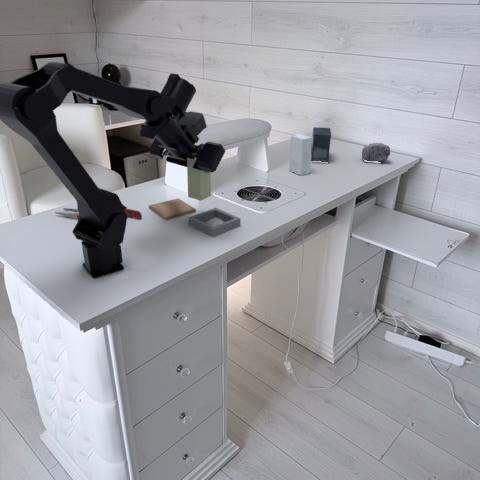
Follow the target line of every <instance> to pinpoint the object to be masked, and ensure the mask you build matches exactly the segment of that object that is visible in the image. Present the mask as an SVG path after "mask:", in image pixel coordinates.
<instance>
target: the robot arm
mask: <svg viewBox="0 0 480 480" xmlns="http://www.w3.org/2000/svg"><path fill="white" fill-rule="evenodd" d="M196 92H197V90H196V87H195V86H194V84H192V83H191V82H190V81H188V80H186V79H184V78H182V77H181V76H180V75H179V74H178V73H170V74H169V75H168V77H167V80H166V82H165V84H164V86H163V88H162V89H161V92H159V91H158V90H155V89H147V88H141V87H136V86H135V87H133V86H129V85H123V84H120V83H117V82H114V81H112V80H110V79H106V78H103V77H102V76H99V75H96V74H93V73H91V72H87V71H85V70H82V69H79V68H77V67H75V66H74V65H72V64H70V63H65V62H58V61H49V62H47V63H46V64H44V65H43V66H41V67H40V68H39V69H37V70H33V71H32V72H29V73H26V74H24V75H21V76H19V77H18V78H16V79H14V80H12V81H11V82H3V83H0V121H1V122H2V123H3V124H4V125H5V126H7V127H8V128H9V130H12V131H13V132H14V133H16V134H17V135H19V137H22V138H23V139H24V140H26V141H27V142H29V143H30V144H31V146H32V147H33V148H34V149H35V150H36V151H37V153H38V154H39V156H40V157H41V159H43V161H45V163H46V164H47V165H48V167H49V168H50V169H51V171H53V173H54V174H55V175H56V177H57V178H58V180H60V182H61V183H62V184H63V186H64V187H65V189H67V191H68V192H69V193H70V194H71V196H72V197H73V198H74V199H75V202H76V205H77V209H78V212H79V214H80V216H81V217H80V219H79V221H78V220H77V222H76V224H75V225H74V228H72V229H73V230H72V234H73V235H74V237H75V239H76V240H78V241H79V240H80V241H81V249H82V254H83V255H82V256H83V260H84V261H83V262H82V265H81V266H82V267H83V268H84V270H85V271H86V272H87V273H88V275H89V276H90V277H91V278H92V279H99V278H101V277H105V276H108V275H112V274H115V273H118V272H120V271H123V270H125V266H124V265H123V264H122V263H123V253H122V252H123V251H122V246H121V244H123V242H124V237H125V232H126V227H127V220H128V219H129V217H128V216H127V213H126V211H125V210H124V209H128V207H127V206H125V205H124V204H123V203H122V201H121V198H120V197H119V196H118V194H117V193H115V192H112V191H109V190H106V189H103V188H100V187H98V185H97V184H96V182H95V181H94V179H93V178H92V176H91V175H90V174H89V173H88V172H87V170H86V169H85V167H84V165H83V164H82V163H81V162H80V160H79V159H78V158H77V156H76V155H75V153H74V152H73V150H72V149H71V148H70V146H69V145H68V143H67V142H66V141H65V140H64V139H65V138H63V137H62V135H61V133H60V132H59V130H58V123H57V122H58V121H57V116H56V113H55V111H54V110H56V109H57V108H58V107H60V106H61V105H62V104H63V103H64V100H65V99H66V98H67V97H66V96H67V95H68V94H69V93H72V94H73V93H74V94H77V95H79V96H80V95H81V96H83V97H87V98H88V99H89V98H91V99H93V100H96V101H100V102H101V103H102V102H103V103H105V104H108V105H111V106H113V107H114V108H116V109H117V111H119V112H121V113H123V114H124V115H126V116H128V117H131V118H135V119H139V120H140V119H141V120H145V121H144V122H143V123H142V124H140V130H139V136H140V137H141V138H145V139H149V140H152V143H151V145H150V147H149V154H150V155H151V156H152V157H153V158H155V159H159V160H163V159H164V156H165V161H166V162H167V163H171V164H174V165H176V166H177V165H178V166H181V167H184V168H187V158H188V159H192V160H194V159H196V160H195V163H194V165H193V167H192V168H194V169H197V170H200V171H203V172H206V173H210V172H211V174H212V173H214V172H217V169H218V167H219V166H220V163H221V161H222V159H223V157H224V155H225V153H226V149H225V147H224V146H223V145H222V144H221V143H217V142H213V141H207V142H205V143H200V144H198V142H199V140H200V137H199V135H200V134H201V133H202V132H203V131H204V130H206V128H208V127H207V123H206V119H205V116H204V114H203V113H202V112H196V111H187V109H188V107H189V106H190V105H191V104H190V103H191V102H192V100H193V98H194V96H195V94H196ZM197 144H198V145H197Z"/></svg>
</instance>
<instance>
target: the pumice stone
mask: <svg viewBox="0 0 480 480" xmlns="http://www.w3.org/2000/svg"><path fill="white" fill-rule="evenodd" d="M390 155H391V148H390V146H389V145H387V144H385V143H382V142H373V143H372V142H370V143H369V144H368V145H364V146H363V148H362V150H361V159H362V160H363V159H364V160H367V161H378V162H382V163H383V162H384V161H386V160H388V158H389V156H390Z"/></svg>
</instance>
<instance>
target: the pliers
mask: <svg viewBox="0 0 480 480" xmlns="http://www.w3.org/2000/svg"><path fill="white" fill-rule="evenodd" d="M62 209H63V210H62V211H54V213H55V214H57V215H59V216H63V217H66V218H69V219H74V220H77V222H78V221H79V219H80V217H81V216H80V214H79V212H78V208H69V207H67V208H66V207H63V208H62ZM124 210H125V211H126V213H127V216H128V219H130V218H131V219H135V220H141V219H142V216H143V215H142V213H141V211H139V210H135V209H131V208H127V209H124Z"/></svg>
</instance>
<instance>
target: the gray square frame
mask: <svg viewBox="0 0 480 480" xmlns="http://www.w3.org/2000/svg"><path fill="white" fill-rule="evenodd" d="M214 218H216V219H219V220H221V221H223V222H222V223H219V224H216V225H214V226H213V225H211V224H210V223H207V222H206V221H209V220H211V219H214ZM188 225H189V226H191V227H192V228H195V229H196V230H199V231H201V232H203V233H205V234H206V235H209V236H210V237H212V238H214V237H217V236H220V235H221V234H224V233H226V232H229V231H231V230H233V229H236V228H238V227H240V226H241V217H238V216H236V215H233V214H231V213H229V212H227V211H225V210H222V209H220V208H218V207H214V208H211V209H207V210H205V211H202V212H200V213H197V214H193V215H191V216H188Z"/></svg>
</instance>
